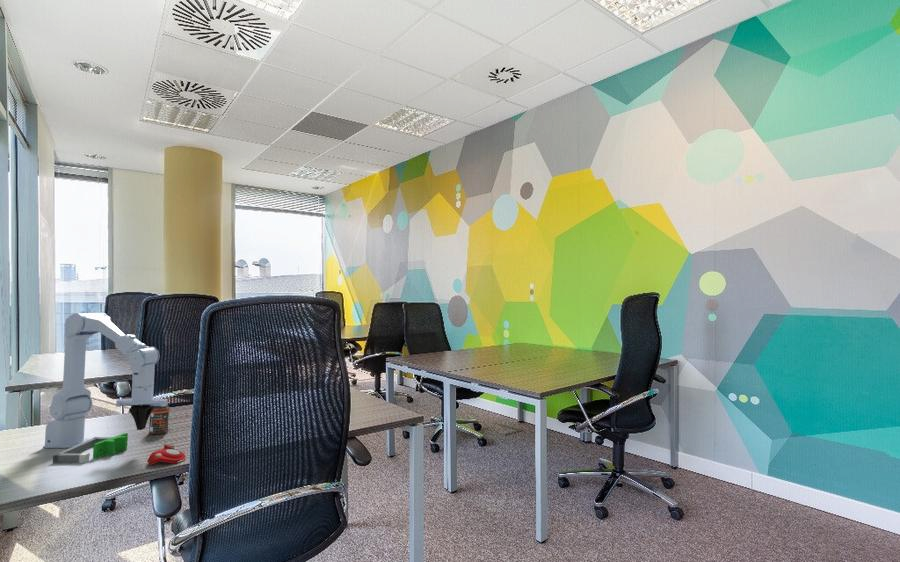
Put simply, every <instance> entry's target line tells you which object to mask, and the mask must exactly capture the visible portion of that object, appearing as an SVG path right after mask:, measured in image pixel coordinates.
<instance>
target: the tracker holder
mask: <svg viewBox="0 0 900 562" xmlns="http://www.w3.org/2000/svg"><path fill="white" fill-rule="evenodd" d="M163 445H164V446H163V448H161V449H158V450H155V451H153V452H152V453H150V455H149V457H148V459H147V461H146V462H147V463H148V464H149V466H151V465H152V466H154V465H156V464H157V463H159V462H163V463H169V464H178V463H177V462H178V461H180V460H183V459H184V458H185V457H187V456H186V454H185V453H184V452H182V451H180V450H178V449H175V446H174V444H169V443H165V442H164V443H163ZM185 459H186V458H185ZM153 464H154V465H153Z"/></svg>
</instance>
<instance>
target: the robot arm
mask: <svg viewBox="0 0 900 562" xmlns="http://www.w3.org/2000/svg"><path fill="white" fill-rule="evenodd" d="M99 333H100V334H102V336H105V337H106V338H108V340H110V341H112V342H114V346H115V349H116V350H117V351H119V352H120V353H121V354H123V355H124V356H126V357H127V359H128V364H129V366H130V371H131V373H132V378H131V379H132V380H131V382H132V383H131V398H120V399H117V400H116V403H115V405H116V406H115V407H118V408H120V407H130V408H129V409H128V412H129V413H130V415H131V416H132V418H133V420H134V423H135V427H136V430H137V431H142V430H145V429H146V427H147V423H148V420H149V419H150V414H151V412H152V410H153V409H154V407H155V406H161V407H164V406H169V404H168V403H169V401H168V400H169V398H156V397H154V389H155V368H156V367H155V366H156V364H158V362H159V360H160V356H161V355H160V352H159V350H158V349H157V348H156V347H155V346H148V345H147V344H145V343H143V342H142V341H141V340H139V339H137V337H136V335H135V334H129V333H128V334H125V333H124V332H123V331H122V330H121V329H119V327H118V326H117V325H115V324H114V323H113V322H112V318H111V316H109V315H107V313H105V312H103V311H101V312H86V313H85V312H84V313H82V312H81V313H79V312H74V313H71V314H70V315H69V316H68V317H67V318H65V327H64V337H65V338H64V339H65V341H64V357H63V358H64V359H63V378H62V379H63V380H62V388H61V389H60V390H59V391H57V392H56V393H54V395H52V401H51V403H50V405H49V414H50V415H51V417H52V418H50V419H49V420H48V421H47V424H46V426H45V435H44V445H43V446H42V448H44V449H69V448H71V447H73V446H76V445H78V444H80V443H83V442H85V441H87V440H90V439H91V438H85V423H86V416H88V414H89V413H88V412H90V410H92V407H93V403H94V402H93V399H92V396H91V395H92V392H91V390H90V389H88V388H86V387H85V374H86V373H85V368H86V355H87V354H86V350H87V349H86V348H87V340H89V338H90V337H92V336H93V335H95V334H99Z"/></svg>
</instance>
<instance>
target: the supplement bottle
mask: <svg viewBox="0 0 900 562" xmlns="http://www.w3.org/2000/svg"><path fill="white" fill-rule="evenodd" d="M170 409H171V408H170V406H169V405H167V406H164V407H161V406H155V407H154V409H153V410H152V412H151V414H150V416H149V428H148V431H149V434H151V435H161V433H162V434H165V433H168V431H169V427H170V411H171V410H170Z"/></svg>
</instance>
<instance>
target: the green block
mask: <svg viewBox="0 0 900 562" xmlns="http://www.w3.org/2000/svg"><path fill="white" fill-rule="evenodd" d="M128 433H129V432H124V433H121V434H118V435H115V436H111V437H112V438H109V439H106V440H103V441H101V442H98V443H95V444H94V447H92V449H93V452H92V459H99V458H102V457H104V456H109V455H111V456H110V457H113V456H115V455H116V454H115V453H117V451H118V452H126V451H127V450H128V437H129V434H128ZM125 450H126V451H125Z"/></svg>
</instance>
